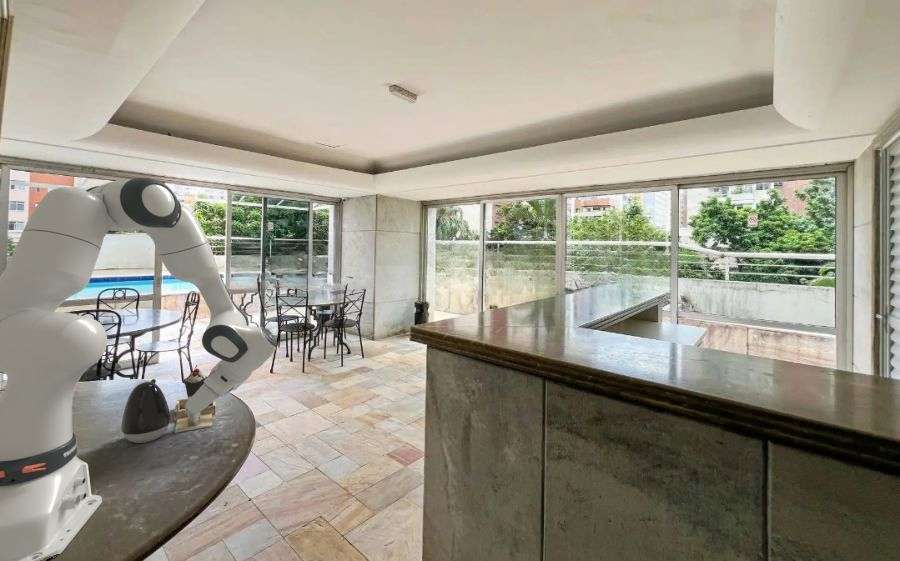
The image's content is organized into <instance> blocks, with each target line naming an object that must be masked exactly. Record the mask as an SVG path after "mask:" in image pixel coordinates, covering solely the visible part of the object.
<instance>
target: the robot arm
mask: <svg viewBox="0 0 900 561" xmlns="http://www.w3.org/2000/svg"><path fill="white" fill-rule="evenodd" d="M136 231H137V232H138V231H143V232H144V233H145V234H147V235H148V236H149V237H150V239H151V240H152V241H153V245H154V246H155V248H156V249H155V250H156V251H157V253H158V256H159V258H160V260H161V262H162V264H163V265H164V267H165V268H166V270H167V271H168V273H169V274H170V275H171V276H172V277H173V278H174V279H176V280H178V281H181V282H185V283H190V284H192V285H194V286H195V287H196V288H197V289H198V290H199V293H200V294H201V296H202V298H203V300H204V302H205V304H206V306H207V308H208V309H209V312H210V320H209V323H208V325H207V327H206V328H205V330H204V333H203V334H202V336H201V344H202V347H203V348H204V350H205V351H206V352H207V353H209V354H210V355H212V356H213V357H216V358H217V359H220V361H219V362H218V363H217V364H216V365H214V366H213V367H212V369H211V370H210V372H209V374H208V375H207V376H206V377H207V378H206V379H205V380H204V384H203V385H202V386H201V387H200V388H199V389H198V391H197V392H196V393H195V394H194V395H193V396H192V397H191V398H190V400H189V401H188V402H187V403H186V405H185V406H184V408H183V409H184V410H185V413H186V414H187V415H191V414H192V415H196V414H197V413H199V412H200V411H202V410H203V409H204V408H206V407H208V406H210V405H211V404H213V403H212V402H213V401H215V402H216V400H217V399H219V398H220V397H221V398H222V397H224V396H226V395H227V394H228V393H230V392H233V391H236V390H237V389H238V388H239V387H240V386H242V384H244V383H245V382H246V381H247V380H248V379H249V378H250V377H251V375H252V374H253V372H254V371H256V370H258V369H259V368H261V367H262V366H263V365H264V364H265V362H267V361H268V360H269V359H270V358H271V356H273V354H275V351H276V349H277V345H278V344H277V340H276V338H275V335H274V334H273V333H272V331H270V330H269V329H268V328H266V327H264V326H252V325H251V326H250V321H249V317H248V315H247V314H246V313H245V312H244V311H243V310H242V309H241V308H240V307H239V306H237V305H236V303H235V302H234V300H233V299H232V297H231V294H230V293H229V290H228V289H227V286H226V284H225V283H224V281H223V278H222V276H221V274H220V272H219V269H218V266H217V262H216V259H215V256H214V252H213V250H212V247H211V245H210V242H209V240H208V237H207V235H206V233H205V231H204V230H203V227H202V226H201V224H200V222H199V221H198V219H197V217H196V215H195V214H194V213H193V212H192V210H191V209H190V208H189V207H188V206H186V205H184V204H181V203H180V200H179V199H178V197H177V196H176V194H175V193H174V191H173V190H172V189H171V188H170V187H169V186H168V185H167V184H165V183H164V182H162V181H160V180H158V179H154V178H151V177H149V178H148V177H135V178H132V179H123V180H115V181H110V182H107V183H104V184H101V185H97V186H96V185H95V186H92V187H90V188H88V189H86V190H84V189H80V188H77V187H76V188H75V187H69V186H67V187H66V186H65V187H64V186H63V187H58V188H57V187H56V188H53V189H51V190H49V191H48V192H47V193H46V194H45V195H44V196H43V197H42V198H41V200H40V201H39V202H38V204H37V205H36V206H35V208H34V210H33V211H32V213H31V215H30V216H29V218H28V220H27V222H26V224H25V226H24V227H23V231H22V233H21V235H20V238H19V240H18V242H17V244H16V246H15V248H14V251H13V253H12V254H11V257H10V259H9V261H8V263H7V265H6V267H5V268H4V270H3V272H2V274H0V373H5V374H6V384H5V388H4V391H3V393H2V395H1V397H0V561H40V560H43V559H44V558H46V557H49V556H53V555H56V554H59V555H61V554H62V553H63V551H64V550H65V549H66V547H68V545H69V544H70V543H71V541H73V539H74V538H75V536H76V535H77V534H78V533H79V532H80V531H81V529H82V527H84V525H85V524H86V523H87V521H88V520H89V519H90V518H91V517H92V515H94V513H95V512H96V511H97V509H98V508H99V506H100V505H101V504H102V503H103V498H102V496H101V495H98V494H92V489H91V481H90V472H89V464H88V463H87V462H85V461H83V460H81V459H80V458H79V457H78V456H77V453H78V448H77V447H78V441H77V436H76V434H75V433H73V432H74V431H73V399H74V394H75V390H76V388H77V384H78V383H79V381H80V379H81V377H82V376H83V374H84V373H85V372H86V371H87V370H88V369H90V368H91V367H93V366H94V365H95V364H97V362H99V360H100V359H101V358H102V357H103V355H104V353H105V352H106V349H107V345H108V335H107V334H108V333H107V331H106V329H105V327H104V326H103V325H102V323H100V322H99V321H97V320H96V319H94V318H92V317H91V318H90V317H86V316H83V315H80V314H75V313H71V312H65V311H64V312H62V311H56V310H57V309H58V308H59V307H60V306H61V305H62V304H63V303H64V302H65V301H66V300H67V299H69V298H70V297H72V296H74V295H76V294H78V293H80V292H82V291H83V290H84V289H85V288H87V287H88V285H89V283H90V280H91V278H92V275H93V272H94V269H95V266H96V263H97V260H98V258H99V255H100V253H101V249H102V246H103V243H104V238H105V237H106V235H107V234H108V233H120V232H136Z"/></svg>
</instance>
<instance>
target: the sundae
mask: <svg viewBox="0 0 900 561" xmlns="http://www.w3.org/2000/svg"><path fill="white" fill-rule="evenodd" d="M207 377H208V376H206V375H205V374H204V373H203V372H202V371H201V370H200V369H199V368H198V365H197V364H196V365H195V368H194V370H192V371H191V372H190V373H189V375H188V376H187V377H185V378H184V379H183V380H181V383H182V384H184V385H185V391H186V395H187V398H188V397H189V396H193V395H194V394H195V393H196V392H197V391H198V389H199V388H200V387H201V386H202V385H203V384H204V380H205V379H206V378H207Z"/></svg>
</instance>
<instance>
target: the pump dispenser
mask: <svg viewBox="0 0 900 561" xmlns="http://www.w3.org/2000/svg"><path fill="white" fill-rule="evenodd" d="M156 382H157V380H156V379H155V378H153V379H151V380H150V381H144V382H141V383H139V384H137V385H136V386H135V387H134V388H133V389H132V390H131V392H130V394H129V396H128V398H127V401H126V403H125V407H124V411H123V413H122V420H121V428H120V430H121V432H122V433H123V435H124V437H125V438H126V440H127V441H128V442H131V443H136V444H143V443H144V444H146V443H150V442H153V441H155V440H157V439H159V438H160V437H161V436H163V435H164V434H165V433H166V431H167V430H168V428H169V425H170V423H171V413H170V408H169V405H168V401H167V399H166V397H165V395H164V392H163V391H162V389H161V387H159V385H157V384H156Z"/></svg>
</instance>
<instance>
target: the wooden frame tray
mask: <svg viewBox="0 0 900 561" xmlns="http://www.w3.org/2000/svg"><path fill="white" fill-rule="evenodd" d="M191 397H192V396H189V397H188V396H187V397H186V398H181V399H177V400H176V404H175V407H174V411H173V420H174V421H175V422H176V423H175V429H174V433H175V434H177V433H182V432H188V431H194V430H199V429H205V428H209V427H212V426H213V415H216V400H215V401H213V402H212V403H211V404H212V405H208V406H207V407H206V408H204V409H203V410H202V411H200V412H199V413H197V414H196V415H192V414H191V415H187V414H186V413H185V410H186V409H185V408H184V406H185V405H186V403H187V402H188V401H189V400H190V398H191ZM180 409H183V410H180Z"/></svg>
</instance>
